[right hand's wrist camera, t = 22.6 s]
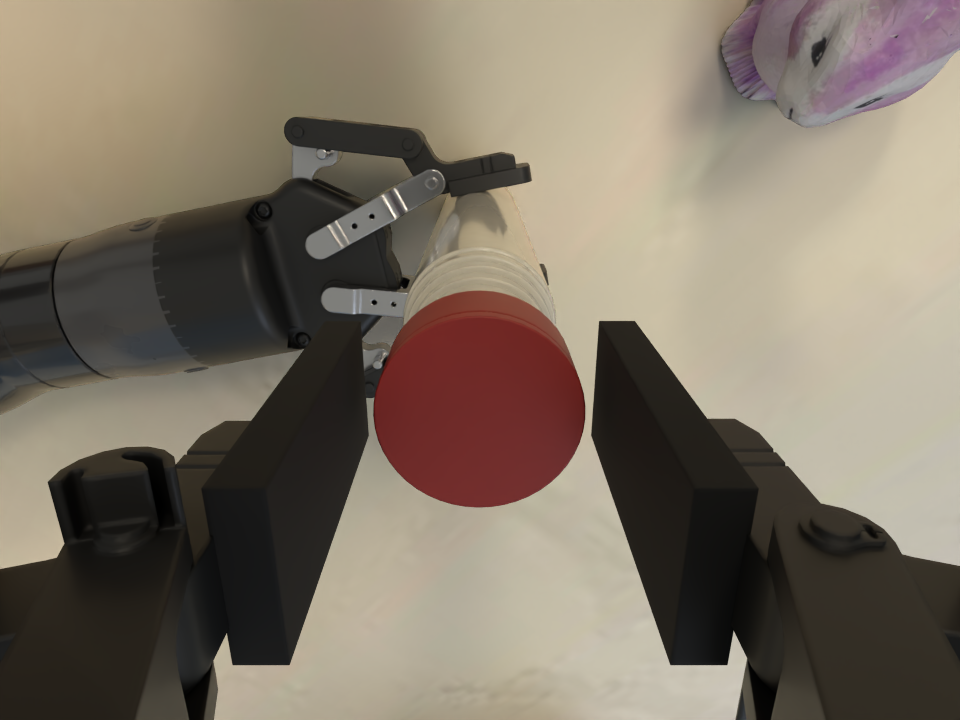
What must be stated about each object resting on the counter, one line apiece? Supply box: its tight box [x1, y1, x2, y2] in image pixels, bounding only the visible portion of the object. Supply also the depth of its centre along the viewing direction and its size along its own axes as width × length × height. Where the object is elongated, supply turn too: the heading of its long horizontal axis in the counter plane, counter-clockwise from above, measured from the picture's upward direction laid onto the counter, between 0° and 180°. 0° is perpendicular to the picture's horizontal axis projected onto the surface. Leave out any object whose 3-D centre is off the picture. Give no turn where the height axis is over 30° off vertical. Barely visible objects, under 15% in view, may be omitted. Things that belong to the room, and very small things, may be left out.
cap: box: [373, 290, 585, 507], centre depth 13 cm, size 4×4×2 cm
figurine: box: [721, 0, 960, 128], centre depth 26 cm, size 9×10×15 cm
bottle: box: [403, 187, 556, 327], centre depth 25 cm, size 4×4×25 cm
